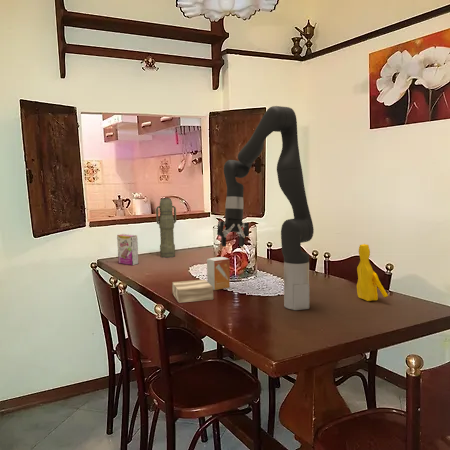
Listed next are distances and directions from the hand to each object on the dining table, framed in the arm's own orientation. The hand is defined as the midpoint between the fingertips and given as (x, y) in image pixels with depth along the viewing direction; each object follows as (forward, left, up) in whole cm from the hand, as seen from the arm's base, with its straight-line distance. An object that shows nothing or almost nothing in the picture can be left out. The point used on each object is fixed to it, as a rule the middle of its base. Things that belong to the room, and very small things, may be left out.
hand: (232, 246), depth 194 cm
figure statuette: (-30, -46, -20) cm, 58 cm away
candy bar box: (+75, +38, -20) cm, 87 cm away
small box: (+8, +4, -20) cm, 22 cm away
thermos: (+89, +13, -20) cm, 92 cm away
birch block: (-2, +18, -19) cm, 27 cm away
